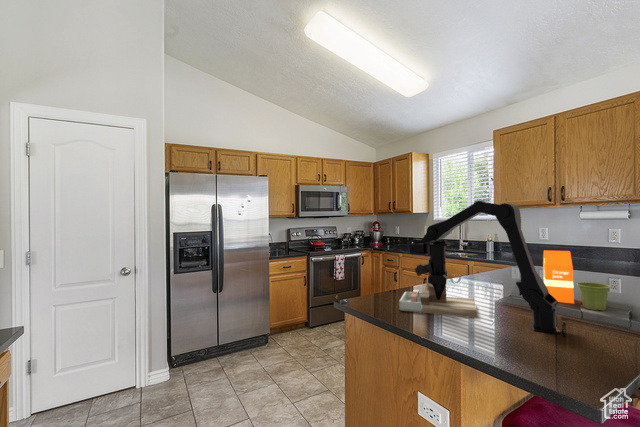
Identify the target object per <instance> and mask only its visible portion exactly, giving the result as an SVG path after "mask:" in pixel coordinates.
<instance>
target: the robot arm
mask: <svg viewBox="0 0 640 427" xmlns="http://www.w3.org/2000/svg"><path fill="white" fill-rule="evenodd" d="M482 213H483V214H485V215H490V216H493V217H495V218H496V219H497V222H498V223H499V225H500V226H501V228H502V229H503V230H504V232H506V233H505V234H506V236H507V239H508V241H509V245H510V248H511V250H512V253H513V256H514V260H515V262H516V265H517V269H518V270H519V274H520V279H519V280H518V281H516V282H515V284H516V286H517V288H518V291H519V294H518V295H519V296H521V295H522V296H521V297H522V298H523V300H524V301H525V302H527V303H528V305H529V308H530V310H531V311H532V322H531V321H530V322H529V325H530V327H531V328H532V329H533V331H535V332H544V333H556V334H561V333H562V332H561V330H560V329H559V328H558V327H557V317H556V309H555V308H556V306H557V304H558V303H559V302H558V301H557V300H556V299H555V298H554V297H553V296H552V295H551V294H550V293H549V291H548V289H547V287H546V285H545V283H544V279H542V277H541V276H540V275H539V274H538V272H537V270H536V268H535V265H534V263H533V262H534V261H533V260H532V257H531V253H530V251H529V248H528V245H527V242H526V240H525V236H524V234H523V231H522V217H521V210H520V208H519V207H518V205H516V204H513V203H505V202H504V203H501V204H498V203H491V202H488V201H487V202H486V201H484V200H476V201H474V202H473V204H470V205H469V206H467V207H465V208H464V209H462V210H460V211H459V212H457V213H455V214H454V215H452V216H450V217H449V218H447V219H445V220H442V221H440V222H436V223H433V224H431V225H429V226H428V227H427V229H426V233H425V234H424V236H423V237H422V238H421V239H420V238H412V239H411V240H412V242H411V243H410V245H409V252H410V255H411V256H417V257H418V256H419V257H428V255H429V260H428V262H426V263H423V264H418V265H416V266H415V267H414V270H415V273H416V276H417V277H420V276H422V275H424V274H428V277H427V284H428V283H429V284H432V285H433V286H434V290H435V294H436V298H437V299H438V300H440V298H441V296H442V293H443V290H444V288H445V285H446V286H447V278H448V277H447V276H448V270H447V266H446V265H447V263H446V262H447V261H446V260H447V259H446V247H449V246H451V245H452V244H451V242H449V241H448V240H447V239H445V238H447V237H448V235H450V234H451V233H452V232H453V231H454V230H455V229H456V228H457V227H459V226H461V225H463V224H465V223H466V222H468V221H470V220H471V219H473V218H474V217H477V216H479V215H480V214H482ZM441 240H442V241H441ZM432 242H433V243H432Z"/></svg>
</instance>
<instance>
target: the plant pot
mask: <svg viewBox="0 0 640 427" xmlns="http://www.w3.org/2000/svg"><path fill="white" fill-rule="evenodd" d="M576 286H577V287H578V289H579V292H580V298H581V302H582V306H583V308H585V309H587V310H592V311H596V310H597V311H600V312H601V311H606V309H607V301H608V293H609V291H610V288H612V287H611V285H609V284H605V283H598V282H597V283H596V282H576Z"/></svg>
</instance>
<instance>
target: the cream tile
mask: <svg viewBox="0 0 640 427" xmlns="http://www.w3.org/2000/svg"><path fill="white" fill-rule="evenodd" d="M412 292H413V294H417V301H418V302H419V293H420V289H413V291H412Z"/></svg>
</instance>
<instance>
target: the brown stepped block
mask: <svg viewBox="0 0 640 427" xmlns="http://www.w3.org/2000/svg"><path fill="white" fill-rule="evenodd" d="M421 293H422V295H421V298H420V301H421V305H429V302H436V303H446V297H447V284H446V285H445V288H444V290H443V293H442V296H441V298H440V300H438V299H437V298H436V294H435V290H434V286H433V285H432V284H430V283H429V284H428V290H426V289H423V291H422V292H421Z"/></svg>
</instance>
